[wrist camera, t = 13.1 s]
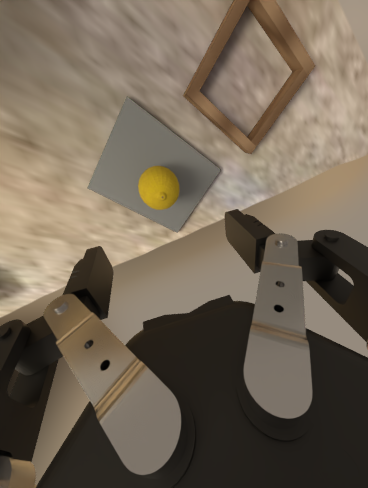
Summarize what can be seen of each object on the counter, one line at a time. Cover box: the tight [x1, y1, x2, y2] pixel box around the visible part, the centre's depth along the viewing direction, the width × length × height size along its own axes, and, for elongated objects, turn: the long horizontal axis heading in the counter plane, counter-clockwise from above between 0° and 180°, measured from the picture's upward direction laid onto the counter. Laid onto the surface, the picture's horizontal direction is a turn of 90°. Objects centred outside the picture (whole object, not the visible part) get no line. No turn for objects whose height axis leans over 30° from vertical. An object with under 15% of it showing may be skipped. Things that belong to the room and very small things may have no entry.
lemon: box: [138, 166, 180, 210], centre depth 25 cm, size 6×6×8 cm
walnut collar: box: [183, 0, 315, 154], centre depth 25 cm, size 12×12×2 cm
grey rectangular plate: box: [88, 97, 221, 233], centre depth 29 cm, size 16×13×1 cm
